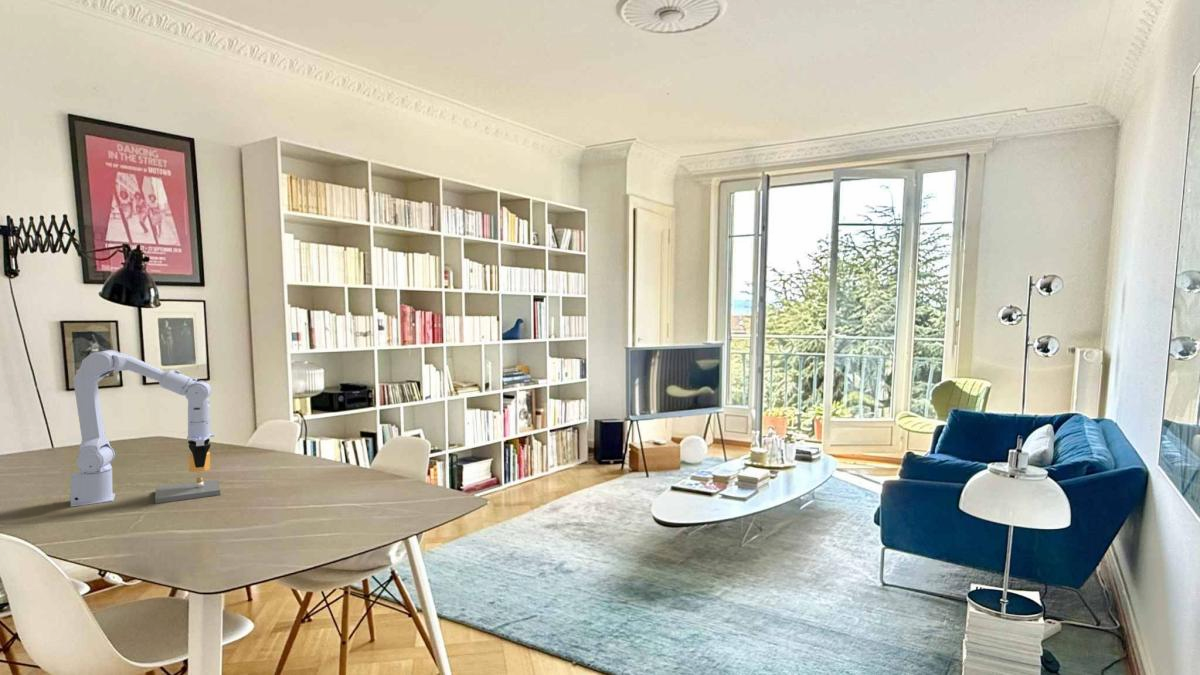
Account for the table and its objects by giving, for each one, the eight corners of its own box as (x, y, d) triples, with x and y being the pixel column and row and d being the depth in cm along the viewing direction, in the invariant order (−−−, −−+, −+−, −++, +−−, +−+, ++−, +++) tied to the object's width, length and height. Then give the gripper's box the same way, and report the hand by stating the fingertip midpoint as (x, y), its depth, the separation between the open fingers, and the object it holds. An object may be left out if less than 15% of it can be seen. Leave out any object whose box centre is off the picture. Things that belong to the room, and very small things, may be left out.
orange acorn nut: (189, 472, 184) (189, 456, 183) (188, 468, 188) (188, 452, 188) (210, 470, 187) (210, 454, 187) (209, 466, 191) (209, 450, 191)
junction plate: (155, 503, 176) (155, 488, 175) (156, 491, 187) (155, 477, 187) (220, 494, 185) (220, 480, 185) (217, 483, 196) (217, 470, 196)
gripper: (215, 423, 183) (216, 468, 184) (213, 416, 195) (213, 458, 196) (187, 425, 179) (188, 471, 180) (186, 418, 191) (187, 461, 191)
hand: (199, 464), depth 187 cm, fingers closed on orange acorn nut, 5 cm apart
